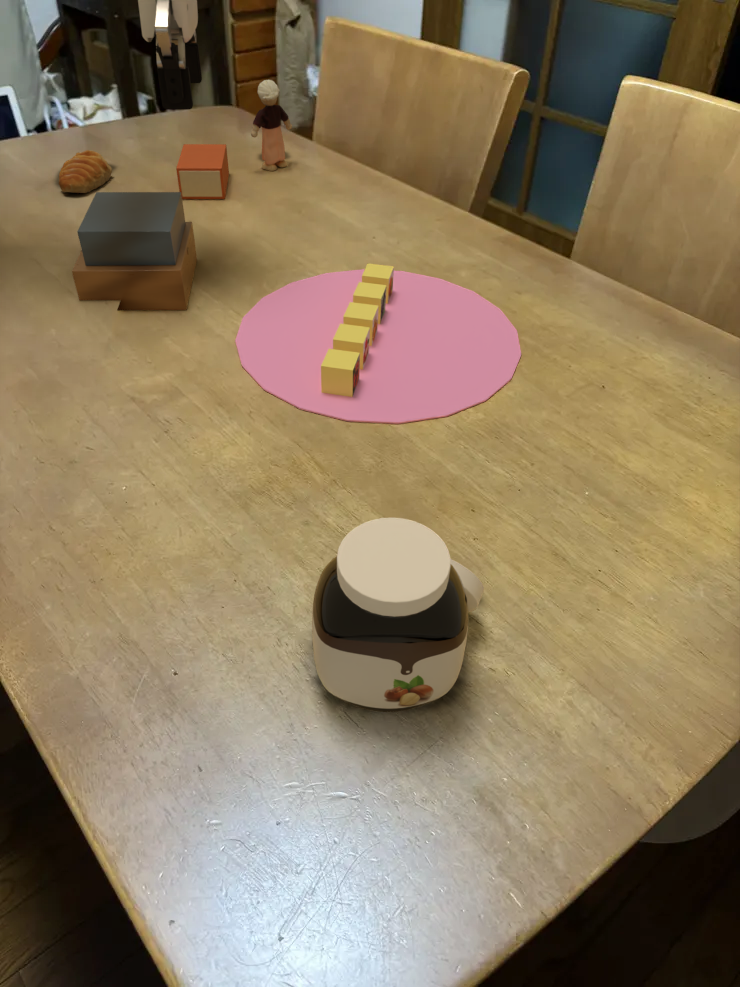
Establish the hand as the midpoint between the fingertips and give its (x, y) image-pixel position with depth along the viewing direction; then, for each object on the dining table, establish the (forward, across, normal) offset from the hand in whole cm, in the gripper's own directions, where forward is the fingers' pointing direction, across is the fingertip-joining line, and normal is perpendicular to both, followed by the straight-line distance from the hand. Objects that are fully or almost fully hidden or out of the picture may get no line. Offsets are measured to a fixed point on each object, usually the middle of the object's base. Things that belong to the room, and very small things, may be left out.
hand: (183, 94), depth 84 cm
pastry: (+20, -25, -20) cm, 38 cm away
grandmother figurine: (+20, -32, +8) cm, 38 cm away
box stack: (+19, +7, -7) cm, 22 cm away
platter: (+20, +20, +21) cm, 35 cm away
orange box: (+19, -24, -2) cm, 31 cm away
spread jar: (+20, +62, +20) cm, 68 cm away
